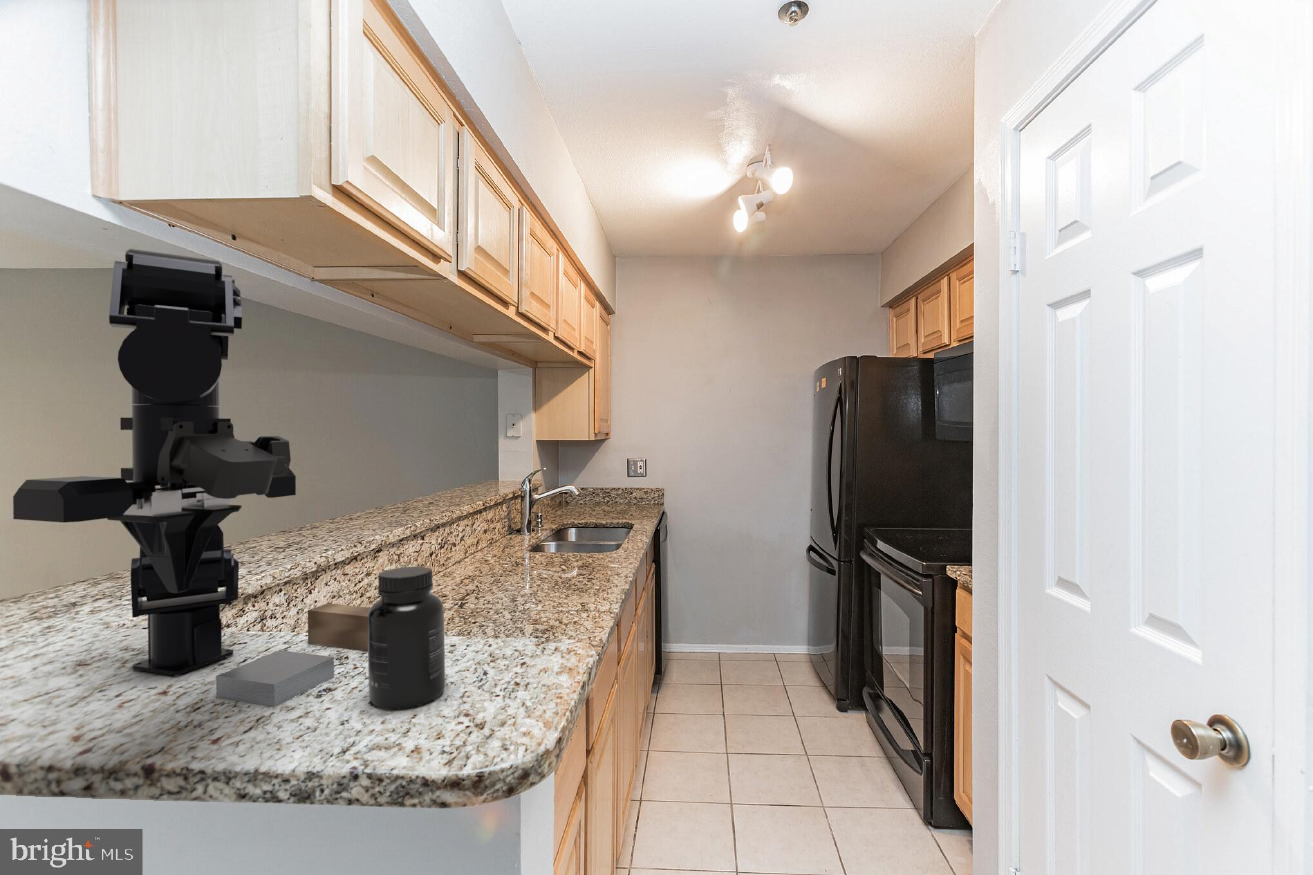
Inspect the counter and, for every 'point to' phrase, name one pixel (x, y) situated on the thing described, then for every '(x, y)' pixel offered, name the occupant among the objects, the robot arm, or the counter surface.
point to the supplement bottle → (405, 640)
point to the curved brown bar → (339, 626)
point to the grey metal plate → (274, 678)
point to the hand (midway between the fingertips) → (178, 591)
